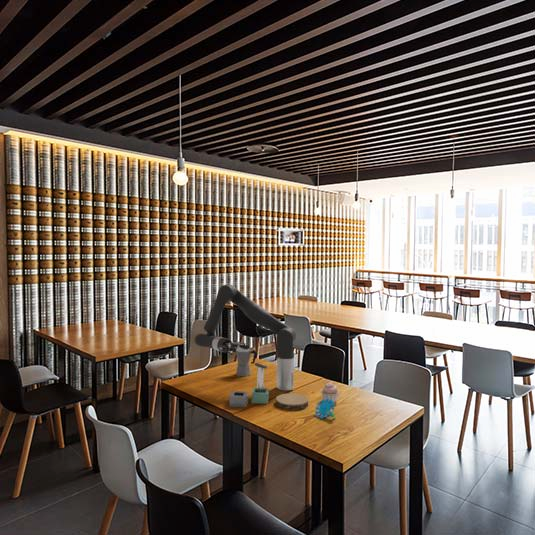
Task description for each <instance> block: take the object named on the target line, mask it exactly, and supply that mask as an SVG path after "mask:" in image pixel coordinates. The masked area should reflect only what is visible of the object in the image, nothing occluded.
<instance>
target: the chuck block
mask: <svg viewBox="0 0 535 535" xmlns="http://www.w3.org/2000/svg"><path fill="white" fill-rule="evenodd" d="M248 403H249V391H237V390H232V391H231V393H230V395H229V402H228V404H229V405H228V406H229V408H244V407H246V408H247V406H248Z"/></svg>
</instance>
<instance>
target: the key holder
mask: <svg viewBox="0 0 535 535" xmlns="http://www.w3.org/2000/svg"><path fill="white" fill-rule="evenodd" d="M269 394H270V388H268V387H266V388H265V387H264V389H263V393H260V392H257V387H253V388H252V391H251V404H262V405H263V404H267V405H268V403H269V400H270V399H269V398H270V396H269Z"/></svg>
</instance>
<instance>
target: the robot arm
mask: <svg viewBox="0 0 535 535" xmlns="http://www.w3.org/2000/svg"><path fill="white" fill-rule="evenodd" d="M229 302H231V303H233V304H234V305H235V306H237V307H238V308H239V309H240V310H241V311H242V312H243V314H244V315H245V317H247V318H248V319H250V320H251V321H252V322H253V323H255V324H257V325H258V326H260V327H262V328H265V329H267V330H269V331H271V332H272V333H273V334H275V335H276V341H275V342H276V343H275V344H276V354H277V357H276V358H277V361H276V364H277V366H276V389H277V390H279V391H294V381H295V380H294V378H295V376H294V375H295V374H294V373H295V372H294V371H295V352H294V342H295V340H296V339H297V334H296V331H295V330H294V329H293V328H291V327H290V326H288V325H287V324H285V323H284V322H282V321H281V320H279V319H277V318H276V317H275V316H274V315H272V314H271V313H270V312H268V311H267V310H266V309H265V308H263V307H262V306H260V305H259V304H257V303H256V302H254V300H252V299H250V298H249V297H247V296H246V295H244V294H243V293H242V292H241V291H240V290H239V289H238V288H237V287H236V286H234V285H232V284H224V285H221V286H220V287H219V288H218V290H217V295H216V297H215V300H214V302H213V303H214V304H213V306H212V309H211V311H210V314H209V315H208V317H207V318H206V321H205V323H204V326H203V330H204V331H205V332H206V334H204V333H198V334H197V335H195V337H194V343H195V344H196V346H198V347H203V348H209V349H212V350H215V351H218V352H222V353H230V352H233V353H235V352H236V350H239V349H246V350H248V349H249V345H246V343H245V342H240V341H237V342H232V340H231V339H230V338H227V337H221V336H215V333H216V330H217V329H218V326H219V324H220V322H221V319H222V315H223V311H224V309H225V306H226V305H227V303H229Z"/></svg>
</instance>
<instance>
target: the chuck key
mask: <svg viewBox="0 0 535 535" xmlns="http://www.w3.org/2000/svg"><path fill="white" fill-rule="evenodd" d="M254 365H255V367H257V376H256V378H257V381H256V385H257V386H256V388H257V392H260V393H263V389H264V388H265V387H264V385H265V382H264V381H265V380H264V379H265V370H266V369H267V368H268V366H267V365H265V364H262V363H258V362H254Z"/></svg>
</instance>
